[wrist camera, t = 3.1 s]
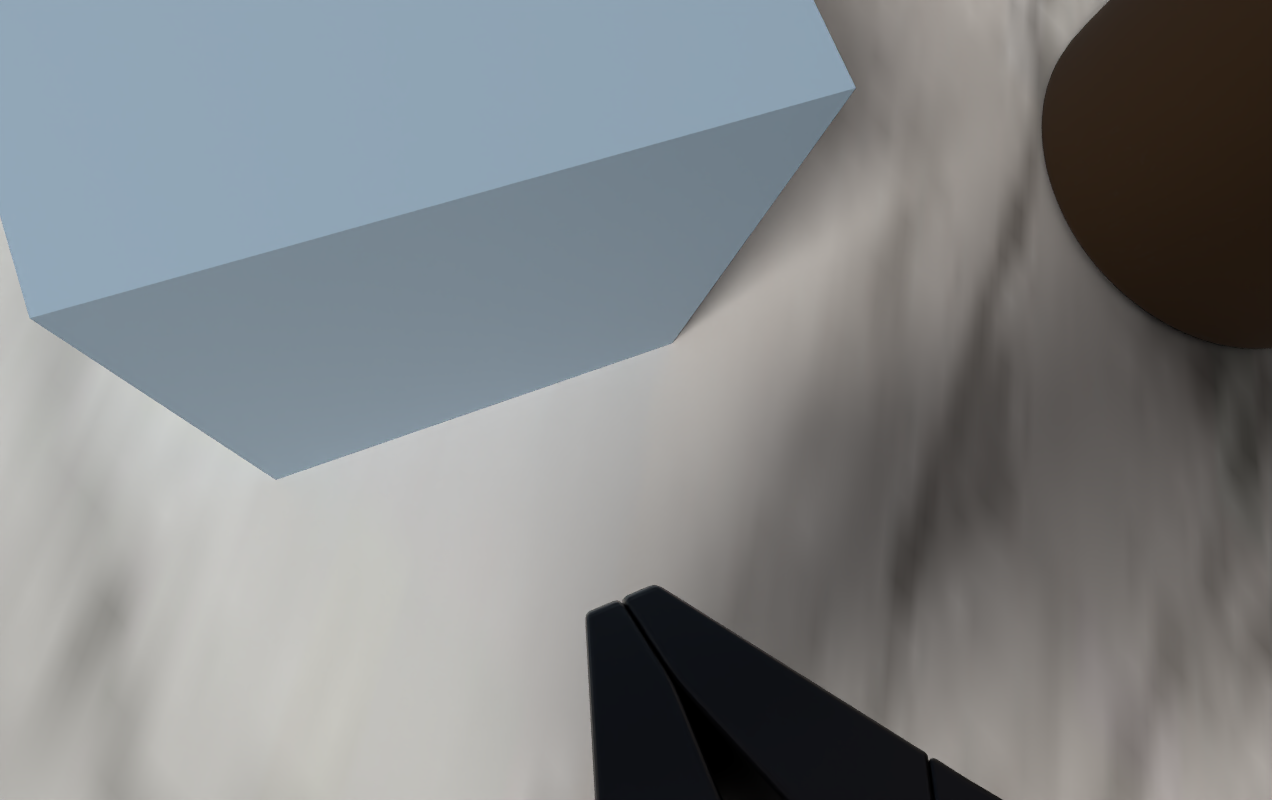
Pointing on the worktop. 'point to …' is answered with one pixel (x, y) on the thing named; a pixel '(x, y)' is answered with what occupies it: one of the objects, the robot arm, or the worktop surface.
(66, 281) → the slate block
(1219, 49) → the olive oil
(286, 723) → the worktop surface
